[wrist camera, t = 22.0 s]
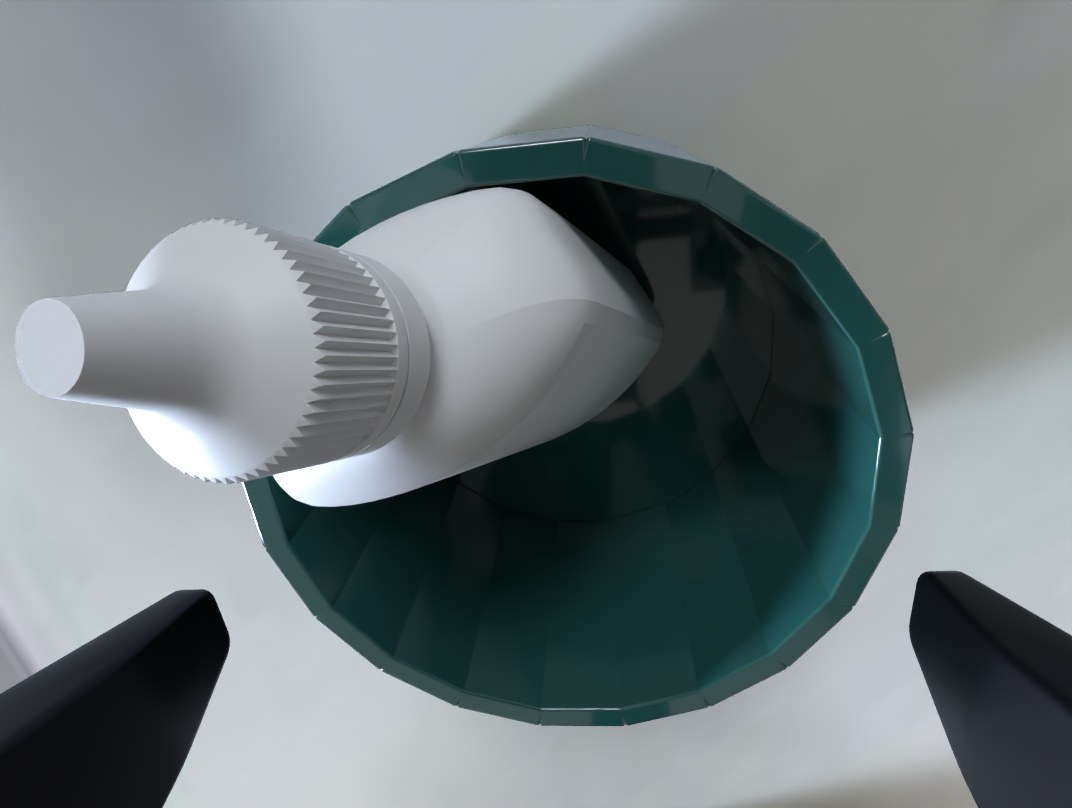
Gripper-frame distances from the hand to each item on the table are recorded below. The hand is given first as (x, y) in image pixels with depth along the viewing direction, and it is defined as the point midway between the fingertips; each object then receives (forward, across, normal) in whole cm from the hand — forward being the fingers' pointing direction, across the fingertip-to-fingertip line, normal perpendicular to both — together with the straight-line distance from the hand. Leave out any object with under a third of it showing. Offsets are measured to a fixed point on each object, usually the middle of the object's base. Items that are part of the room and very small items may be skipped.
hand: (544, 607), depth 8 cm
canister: (+10, 0, 0) cm, 10 cm away
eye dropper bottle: (+9, 0, 0) cm, 9 cm away
